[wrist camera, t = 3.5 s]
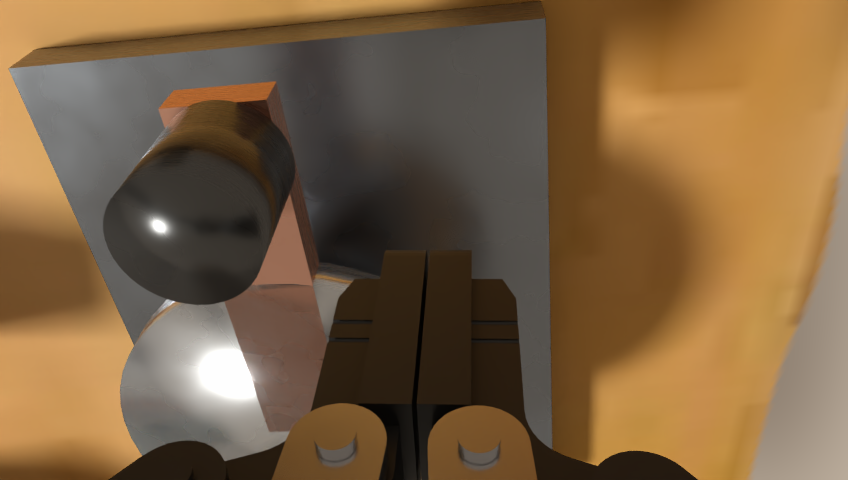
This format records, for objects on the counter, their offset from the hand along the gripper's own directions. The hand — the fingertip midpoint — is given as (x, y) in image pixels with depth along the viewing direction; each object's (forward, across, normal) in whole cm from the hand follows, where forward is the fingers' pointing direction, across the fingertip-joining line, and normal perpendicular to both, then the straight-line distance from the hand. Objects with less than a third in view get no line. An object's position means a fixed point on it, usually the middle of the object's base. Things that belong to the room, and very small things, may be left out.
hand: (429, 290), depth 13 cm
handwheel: (+5, +4, +6) cm, 9 cm away
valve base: (+10, +4, +9) cm, 14 cm away
